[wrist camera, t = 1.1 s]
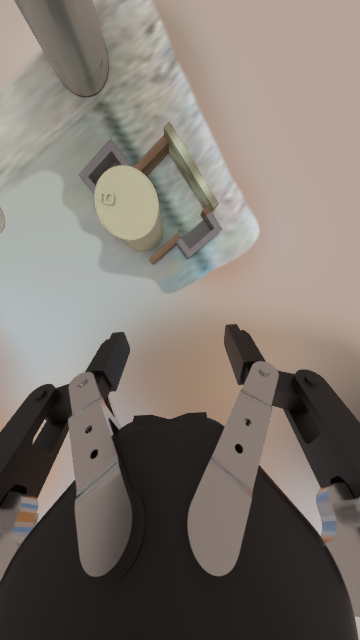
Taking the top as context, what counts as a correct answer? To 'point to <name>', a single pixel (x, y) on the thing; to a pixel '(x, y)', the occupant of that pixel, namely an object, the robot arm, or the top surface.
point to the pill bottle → (2, 220)
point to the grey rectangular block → (129, 207)
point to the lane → (188, 169)
